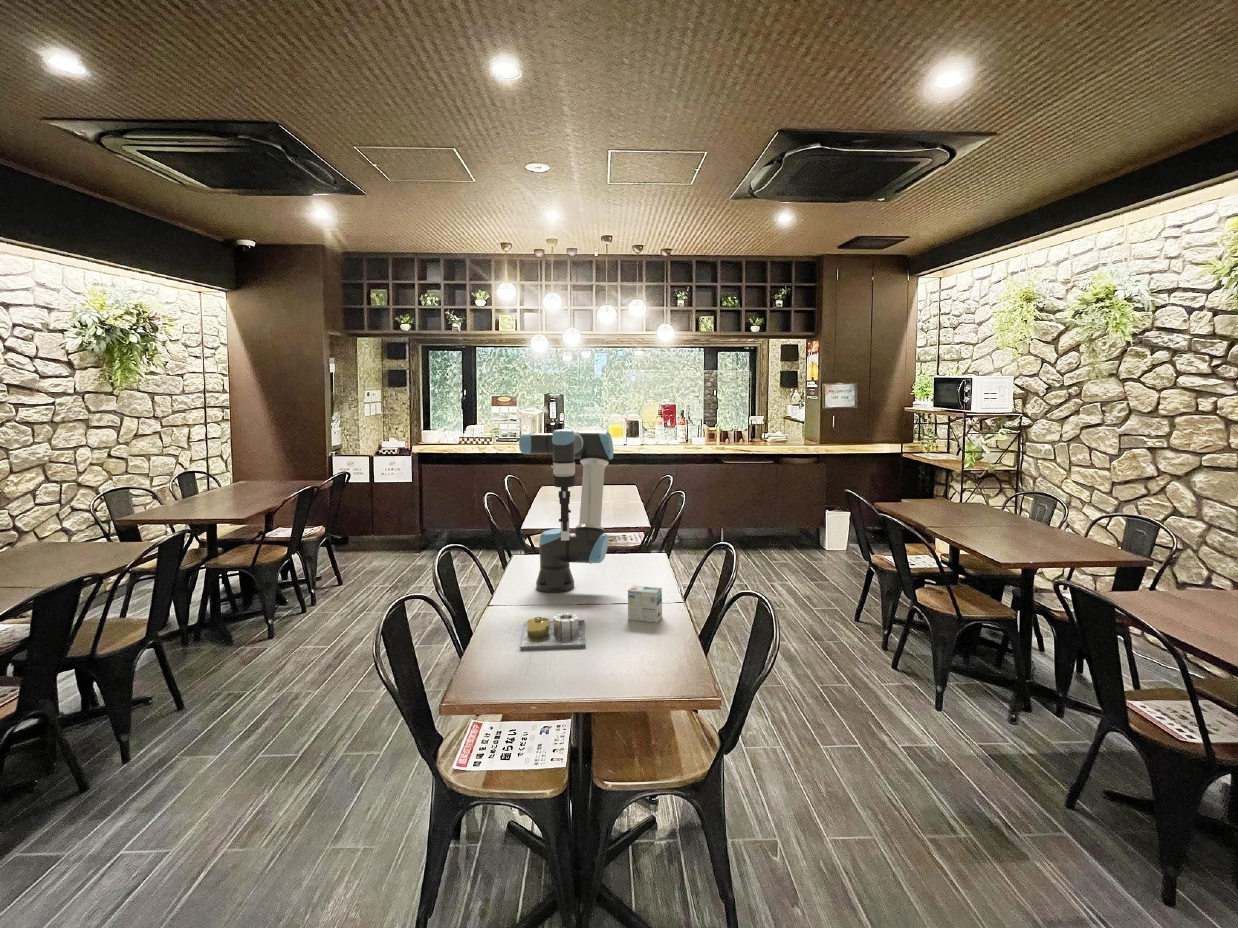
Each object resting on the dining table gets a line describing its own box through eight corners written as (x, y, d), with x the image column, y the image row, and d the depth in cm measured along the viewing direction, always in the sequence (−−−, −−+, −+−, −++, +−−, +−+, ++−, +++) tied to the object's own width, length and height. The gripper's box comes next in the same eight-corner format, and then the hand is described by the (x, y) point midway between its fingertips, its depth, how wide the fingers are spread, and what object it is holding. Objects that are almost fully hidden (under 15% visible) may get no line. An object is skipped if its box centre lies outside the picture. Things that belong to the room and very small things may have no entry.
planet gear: (554, 628, 230) (553, 613, 230) (578, 627, 231) (578, 612, 230) (553, 636, 223) (553, 621, 222) (578, 636, 223) (578, 620, 222)
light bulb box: (662, 616, 244) (662, 586, 242) (657, 623, 237) (657, 592, 236) (633, 613, 247) (633, 584, 246) (627, 620, 241) (627, 589, 240)
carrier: (525, 625, 237) (524, 607, 236) (584, 623, 238) (584, 605, 237) (520, 650, 215) (519, 630, 214) (585, 647, 216) (585, 628, 216)
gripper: (554, 470, 252) (555, 528, 254) (551, 480, 227) (553, 544, 230) (575, 469, 252) (576, 527, 255) (575, 479, 228) (576, 543, 230)
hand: (565, 535), depth 242 cm, fingers open, 13 cm apart
